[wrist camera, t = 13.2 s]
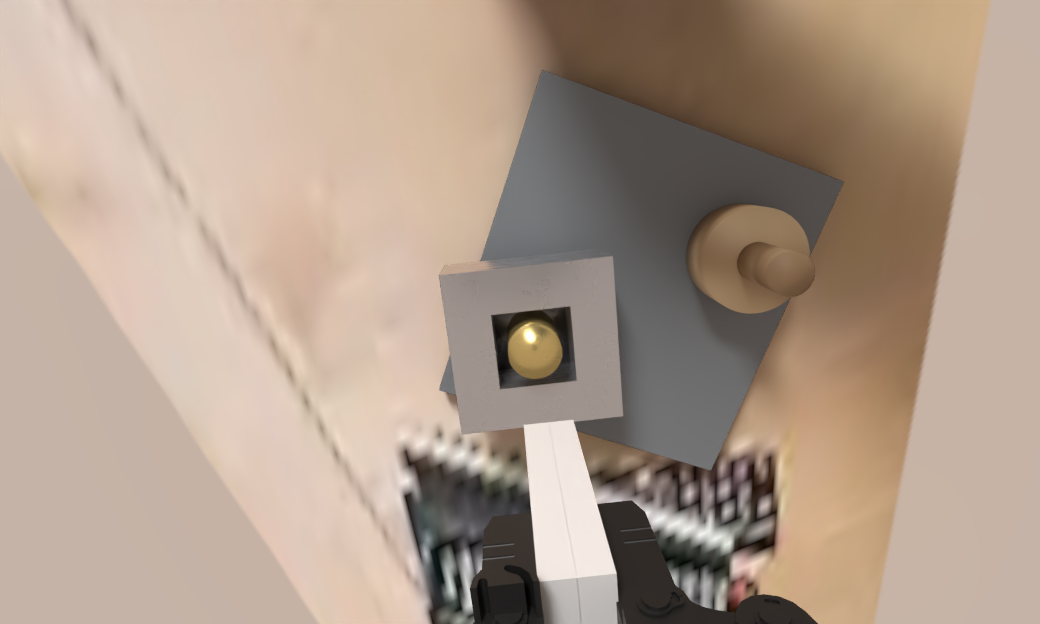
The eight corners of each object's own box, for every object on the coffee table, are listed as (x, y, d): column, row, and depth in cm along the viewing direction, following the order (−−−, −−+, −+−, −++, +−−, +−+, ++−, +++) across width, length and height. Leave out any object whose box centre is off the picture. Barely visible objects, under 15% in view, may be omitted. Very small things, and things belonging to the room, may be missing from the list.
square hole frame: (444, 265, 32) (438, 275, 29) (602, 247, 32) (612, 256, 29) (464, 411, 34) (461, 434, 31) (612, 394, 34) (623, 416, 31)
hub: (492, 251, 34) (491, 269, 28) (601, 287, 35) (622, 311, 29) (458, 357, 35) (450, 394, 30) (563, 388, 36) (575, 431, 30)
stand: (709, 189, 33) (763, 195, 27) (799, 222, 34) (874, 236, 27) (670, 284, 35) (712, 313, 28) (758, 313, 35) (820, 348, 29)
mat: (541, 73, 33) (542, 69, 31) (832, 181, 35) (843, 181, 34) (441, 383, 37) (439, 390, 36) (704, 461, 39) (710, 470, 38)
